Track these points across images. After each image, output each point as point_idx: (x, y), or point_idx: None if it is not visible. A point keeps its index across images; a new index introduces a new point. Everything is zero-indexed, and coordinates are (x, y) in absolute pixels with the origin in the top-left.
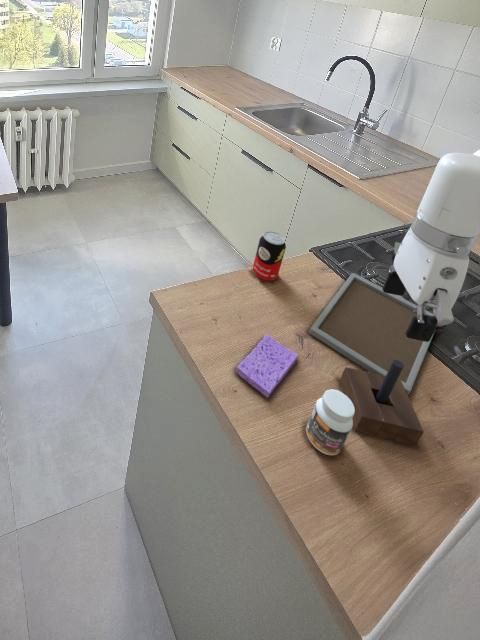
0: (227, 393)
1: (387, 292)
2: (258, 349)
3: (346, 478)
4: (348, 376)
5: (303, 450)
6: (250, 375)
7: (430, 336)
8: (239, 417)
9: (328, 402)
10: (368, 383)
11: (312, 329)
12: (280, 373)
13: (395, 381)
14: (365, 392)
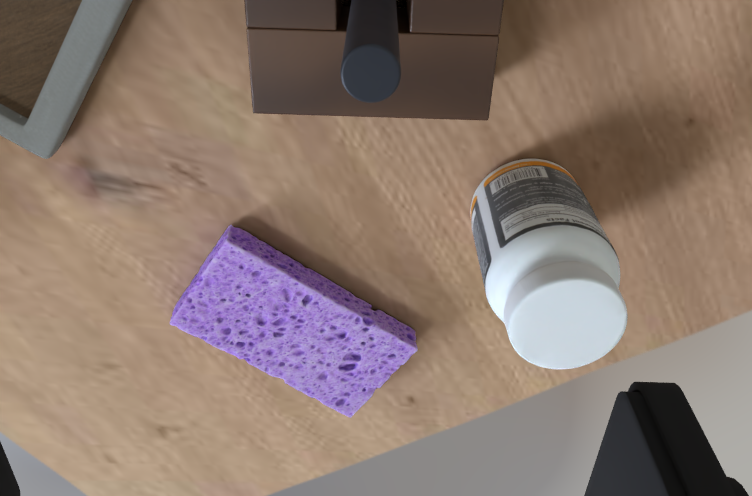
0: (424, 416)
1: (11, 487)
2: (253, 355)
3: (640, 166)
4: (302, 113)
5: None
6: (369, 388)
7: (701, 447)
8: (490, 396)
9: (572, 361)
10: (314, 34)
11: (49, 153)
12: (333, 309)
13: (397, 27)
14: None
